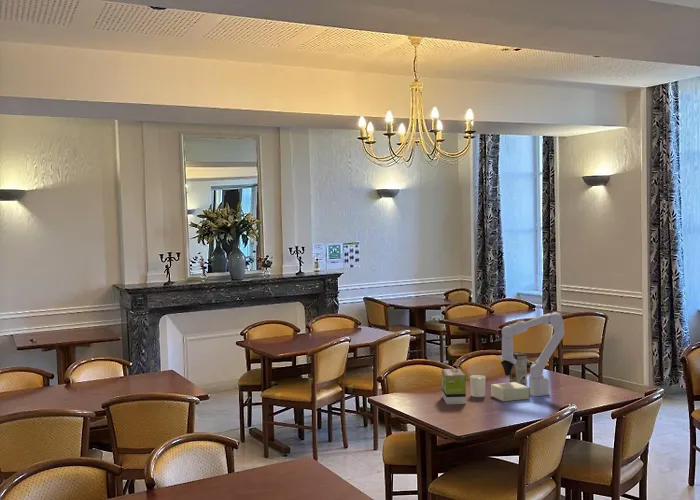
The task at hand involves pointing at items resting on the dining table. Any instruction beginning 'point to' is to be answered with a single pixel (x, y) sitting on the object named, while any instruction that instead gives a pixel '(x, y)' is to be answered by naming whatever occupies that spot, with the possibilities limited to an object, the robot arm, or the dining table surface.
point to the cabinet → (498, 389)
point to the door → (516, 394)
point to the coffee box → (519, 368)
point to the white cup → (477, 385)
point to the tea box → (453, 386)
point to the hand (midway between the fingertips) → (507, 375)
